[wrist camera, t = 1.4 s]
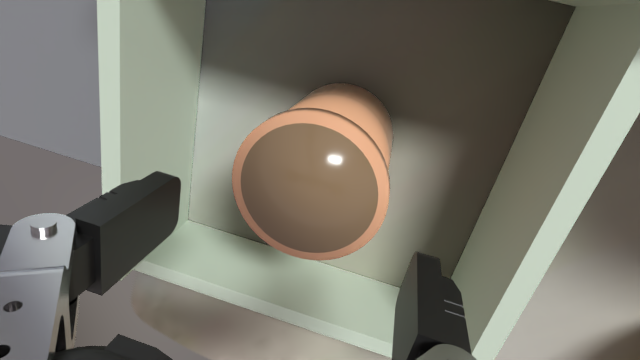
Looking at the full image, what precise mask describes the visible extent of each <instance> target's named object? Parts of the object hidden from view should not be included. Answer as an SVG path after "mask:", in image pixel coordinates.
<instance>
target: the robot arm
mask: <svg viewBox="0 0 640 360" xmlns="http://www.w3.org/2000/svg"><path fill="white" fill-rule="evenodd" d="M180 193H181V180H180V178H179V177H176V176H173V175H170V174H166V173H163V172H160V171H155V172H153V173H151V174H150V175H148V176H146V177H145V178H143V179H141V180H135V181H131V182H127V183H123V184H121V185H119V186H117V187H115V188H113V189H112V190H110V191H109V192H106V193H105V194H103V195H101V196H100V197H99V198H96V199H94V200H92V201H90V202H89V203H87V204H85V205H83V206H82V207H80V208H78V209H76V210H75V211H73V212H71V213H69V214H67V215H66V216H65V215H62V214H54V213H45V214H37V215H32V216H29V217H26V218H24V219H21V220H20V221H18V222H17V223H15V224H14V225H13V226H9V225H0V360H172V359H171V358H170V357H168V356H167V355H165V354H164V353H163V352H161V351H160V350H159V349H157V348H155V347H152V346H150V345H147V344H144V343H141V342H138V341H136V340H133V339H130V338H127V337H125V336H122V335H120V334H118V335H117V336H116V337H115V338H114V339H113V341H111V342H110V344H109V345H108V346H86V347H77V348H74V346H75V338H76V329H77V320H78V311H79V295H80V294H81V293H82V292H84V291H85V290H87V291H90V292H93V293H96V294H99V295H103V294H104V293H105V292H106V291H107V290H109V289H110V288H111V287H112V286H113V285H114V284H115V283H117V282H118V281H119V280H120V279H121V278H122V277H123V276H124V275H126V274H127V273H128V272H129V271H130V270H131V269H132V268H134V267H135V266H136V265H137V264H138V263H139V262H140V261H141V260H143V259H144V258H145V257H146V256H147V255H148V254H149V253H150V252H152V251H153V250H154V249H155V248H156V247H157V246H158V245H160V244H161V243H162V242H163V241H164V240H165V239H166V238H167V237H169V236H170V235H171V234H172V232H173V231H174V229H175V227H176V225H177V222H178V218H179V206H180ZM392 360H477V359H476V358H475V357H474V356H472V354H471V348H470V342H469V336H468V330H467V324H466V318H465V313H464V308H463V301H462V295H461V292H460V290H459V289H458V287H457V286H456V284H455V283H454V281H453V280H452V279H449V278H446V277H442V276H441V267H440V260H439V259H438V258H435V257H432V256H429V255H426V254H422V253H419V252H415V253H414V255H413V257H412V259H411V262H410V265H409V267H408V270H407V272H406V275H405V277H404V280H403V283H402V285H401V288H400V290H399V293H398V297H397V301H396V306H395V317H394V332H393V347H392Z"/></svg>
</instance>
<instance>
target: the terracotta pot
mask: <svg viewBox="0 0 640 360" xmlns="http://www.w3.org/2000/svg"><path fill="white" fill-rule="evenodd" d="M392 145H393V126H392V121H391V118H390V116H389V114H388V112H387V110H386V108H385V107H384V105H383V104H382V103H381V101H380V100H379V99H378V98H377V97H376V96H374V95H373V94H372V93H370V92H369V91H367V90H366V89H364V88H362V87H359V86H356V85H352V84H347V83H333V84H328V85H325V86H322V87H319V88H318V89H316V90H314V91H312V92H311V93H310V94H308V95H307V96H306V97H304V98H303V99H302V100H300V101H299V102H298V103H297V104H295V105H294V106H293V107H291V108H290V109H289V110H287V111H284V112H281V113H279V114H276V115H275V116H273V117H271V118H269V119H268V120H266V121H265V122H264V123H262V124H261V125H259V126H258V127H257V128H255V129H254V130H253V131H252V132H251V133H250V134H249V135H248V136H247V137H246V139H245V140H244V141H243V143H242V144H241V146H240V148H239V150H238V152H237V155H236V157H235V160H234V165H233V170H232V186H233V192H234V197H235V200H236V203H237V206H238V208H239V210H240V212H241V214H242V216H243V218H244V219H245V221H246V222H247V224H248V225H249V226H250V228H251V229H252V230H253V231H254V232H255V233H256V234H257V235H258V236H259V237H260V238H261V239H262V240H264V241H265V242H266V243H267V244H269V245H271V246H272V247H274V248H275V249H277V250H279V251H281V252H283V253H286V254H288V255H291V256H294V257H298V258H301V259H308V260H331V259H336V258H340V257H343V256H346V255H349V254H351V253H353V252H355V251H357V250H358V249H360V248H361V247H363V246H364V245H365V244H366V243H368V242H369V241H370V240H371V239H372V238H373V236H374V235H375V234H376V233H377V231H378V230H379V228H380V227H381V225H382V223H383V220H384V218H385V216H386V212H387V208H388V202H389V194H390V177H389V172H388V170H389V164H390V158H391V151H392Z"/></svg>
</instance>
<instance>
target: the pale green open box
mask: <svg viewBox="0 0 640 360" xmlns="http://www.w3.org/2000/svg"><path fill="white" fill-rule="evenodd" d="M550 1H554V2H558V3H563V4H567V5H571V6H576V8H575V10H574V12H573V14H572V16H571V18H570V21H569V23H568V25H567V27H566V29H565V32H564V34H563V36H562V38H561V40H560V42H559V45H558V47H557V49H556V51H555V53H554V55H553V58H552V60H551V62H550V64H549V66H548V68H547V71H546V73H545V75H544V77H543V79H542V81H541V84H540V86H539V88H538V90H537V92H536V95H535V97H534V99H533V101H532V103H531V105H530V108H529V110H528V112H527V114H526V116H525V118H524V121H523V123H522V125H521V127H520V129H519V131H518V134H517V136H516V138H515V140H514V142H513V144H512V147H511V149H510V151H509V153H508V155H507V158H506V160H505V162H504V164H503V166H502V168H501V171H500V173H499V175H498V177H497V179H496V181H495V184H494V186H493V188H492V190H491V192H490V194H489V197H488V199H487V201H486V203H485V205H484V207H483V210H482V212H481V214H480V216H479V218H478V221H477V223H476V225H475V227H474V229H473V231H472V234H471V236H470V238H469V240H468V242H467V244H466V247H465V249H464V251H463V253H462V255H461V257H460V260H459V262H458V264H457V266H456V268H455V270H454V273H453V275H452V277H451V279H452V280H453V281H454V283H455V284H456V286H457V287H458V289H459V290H460V292H461V295H462V301H463V308H464V313H465V318H466V324H467V330H468V336H469V342H470V348H471V354H472V356H474V357H475V358H476V359H477V360H494V359H495V357H496V356H497V354H498V352H499V351H500V349H501V347H502V346H503V344H504V342H505V341H506V339H507V337H508V335H509V334H510V332H511V330H512V329H513V327H514V325H515V324H516V322H517V320H518V318H519V317H520V315H521V313H522V312H523V310H524V308H525V307H526V305H527V303H528V301H529V300H530V298H531V296H532V295H533V293H534V291H535V290H536V288H537V286H538V284H539V283H540V281H541V279H542V278H543V276H544V274H545V273H546V271H547V269H548V267H549V266H550V264H551V262H552V261H553V259H554V257H555V256H556V254H557V252H558V251H559V249H560V247H561V245H562V244H563V242H564V240H565V239H566V237H567V235H568V234H569V232H570V230H571V228H572V227H573V225H574V223H575V222H576V220H577V218H578V217H579V215H580V213H581V211H582V210H583V208H584V206H585V205H586V203H587V201H588V200H589V198H590V196H591V194H592V193H593V191H594V189H595V188H596V186H597V184H598V183H599V181H600V179H601V177H602V176H603V174H604V172H605V171H606V169H607V167H608V166H609V164H610V162H611V160H612V159H613V157H614V155H615V154H616V152H617V150H618V149H619V147H620V145H621V144H622V142H623V140H624V138H625V137H626V135H627V133H628V132H629V130H630V128H631V127H632V125H633V123H634V121H635V120H636V118H637V116H638V115H639V113H640V0H550ZM205 7H206V0H97V26H98V62H99V98H100V134H101V170H102V195H103V194H105V193H106V192H109V191H110V190H112V189H113V188H115V187H117V186H119V185H121V184H123V183H127V182H131V181H135V180H141V179H143V178H145V177H146V176H148V175H150V174H151V173H153V172H155V171H160V172H163V173H166V174H170V175H173V176H176V177H179V178H180V180H181V193H180V206H179V218H178V222H177V225H176V227H175V229H174V231H173V232H172V234H171V235H170V236H169V237H167V238H166V239H165V240H164V241H163V242H162V243H161V244H160V245H158V246H157V247H156V248H155V249H154V250H153V251H152V252H150V253H149V254H148V255H147V256H146V257H145V258H144V259H143V260H141V261H140V262H139V263H138V264H137V265H136V266H135V267H134V268H132V269H131V270H130V271H129V272H128V273H127V274H126V275H124V276H123V277H122V278H121V279H120V280H119V281H121V280H123V279H124V278H125V277H126V276H127V275H128V274H129V273H130V272H131V271H133V270H135V271H138V272H141V273H144V274H147V275H149V276H152V277H155V278H158V279H161V280H164V281H167V282H170V283H173V284H176V285H179V286H182V287H185V288H188V289H190V290H193V291H196V292H199V293H202V294H205V295H208V296H211V297H214V298H217V299H220V300H223V301H226V302H229V303H231V304H234V305H237V306H240V307H243V308H246V309H249V310H252V311H255V312H258V313H261V314H264V315H267V316H270V317H273V318H275V319H278V320H281V321H284V322H287V323H290V324H293V325H296V326H299V327H302V328H305V329H308V330H311V331H314V332H316V333H319V334H322V335H325V336H328V337H331V338H334V339H337V340H340V341H343V342H346V343H349V344H352V345H355V346H357V347H360V348H363V349H366V350H369V351H372V352H375V353H378V354H381V355H384V356H387V357H390V358H392V347H393V332H394V317H395V306H396V301H397V297H398V293H399V290H400V288H399V287H396V286H393V285H389V284H386V283H383V282H380V281H377V280H374V279H371V278H368V277H364V276H361V275H358V274H355V273H352V272H349V271H346V270H343V269H340V268H336V267H333V266H330V265H327V264H324V263H321V262H318V261H315V260H308V259H301V258H298V257H294V256H291V255H288V254H286V253H283V252H281V251H279V250H277V249H275V248H274V247H271V246H268V245H265V244H262V243H258V242H255V241H252V240H249V239H246V238H243V237H240V236H237V235H234V234H230V233H227V232H224V231H221V230H218V229H215V228H212V227H209V226H205V225H202V224H199V223H196V222H193V221H190V220H188V212H189V200H190V188H191V176H192V164H193V152H194V140H195V128H196V116H197V104H198V92H199V80H200V68H201V56H202V44H203V31H204V19H205Z"/></svg>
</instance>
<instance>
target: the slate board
mask: <svg viewBox="0 0 640 360" xmlns="http://www.w3.org/2000/svg"><path fill="white" fill-rule="evenodd" d="M0 136H3V137H6V138H9V139H13V140H16V141H19V142H22V143H26V144H29V145H32V146H35V147H38V148H41V149H44V150H48V151H51V152H54V153H57V154H60V155H64V156H67V157H70V158H73V159H77V160H80V161H83V162H86V163H89V164H92V165H96V166H99V167H101V134H100V98H99V62H98V26H97V0H0Z"/></svg>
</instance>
